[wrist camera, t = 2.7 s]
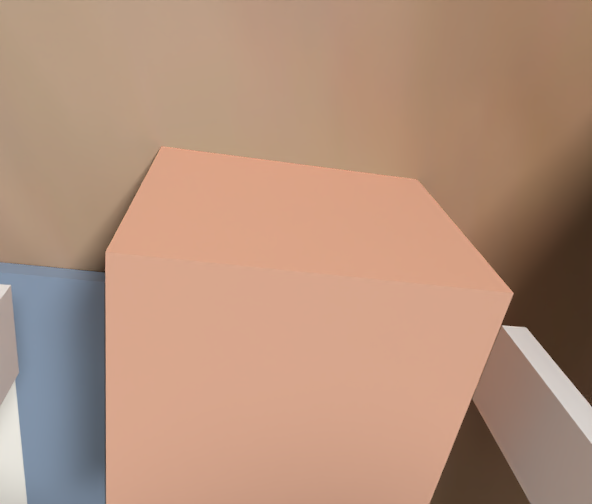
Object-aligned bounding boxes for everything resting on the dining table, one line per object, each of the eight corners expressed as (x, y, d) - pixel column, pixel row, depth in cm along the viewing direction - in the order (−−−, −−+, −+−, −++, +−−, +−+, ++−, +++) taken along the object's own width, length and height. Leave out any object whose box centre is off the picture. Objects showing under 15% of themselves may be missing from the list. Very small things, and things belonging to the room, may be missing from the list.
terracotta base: (416, 178, 17) (513, 293, 11) (363, 373, 20) (413, 544, 14) (161, 145, 16) (105, 252, 10) (152, 357, 19) (105, 536, 13)
